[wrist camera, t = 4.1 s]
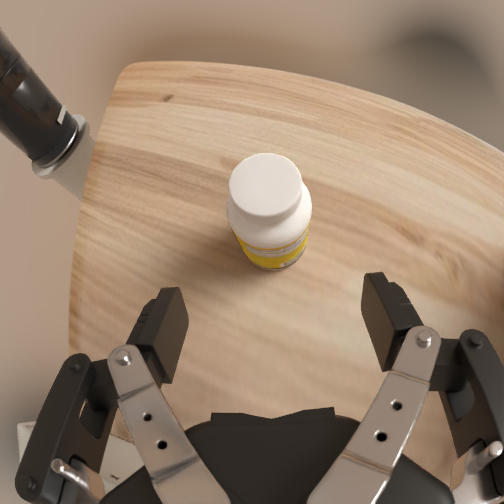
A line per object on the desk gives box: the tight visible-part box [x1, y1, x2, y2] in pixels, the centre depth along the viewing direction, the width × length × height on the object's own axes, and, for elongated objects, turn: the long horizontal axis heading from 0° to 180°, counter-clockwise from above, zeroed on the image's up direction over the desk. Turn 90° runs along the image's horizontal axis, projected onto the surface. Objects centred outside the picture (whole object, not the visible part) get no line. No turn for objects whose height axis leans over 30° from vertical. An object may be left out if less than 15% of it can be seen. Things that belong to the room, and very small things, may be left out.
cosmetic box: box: [17, 421, 144, 495], centre depth 16 cm, size 8×6×15 cm
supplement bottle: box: [226, 153, 312, 270], centre depth 20 cm, size 5×5×10 cm
